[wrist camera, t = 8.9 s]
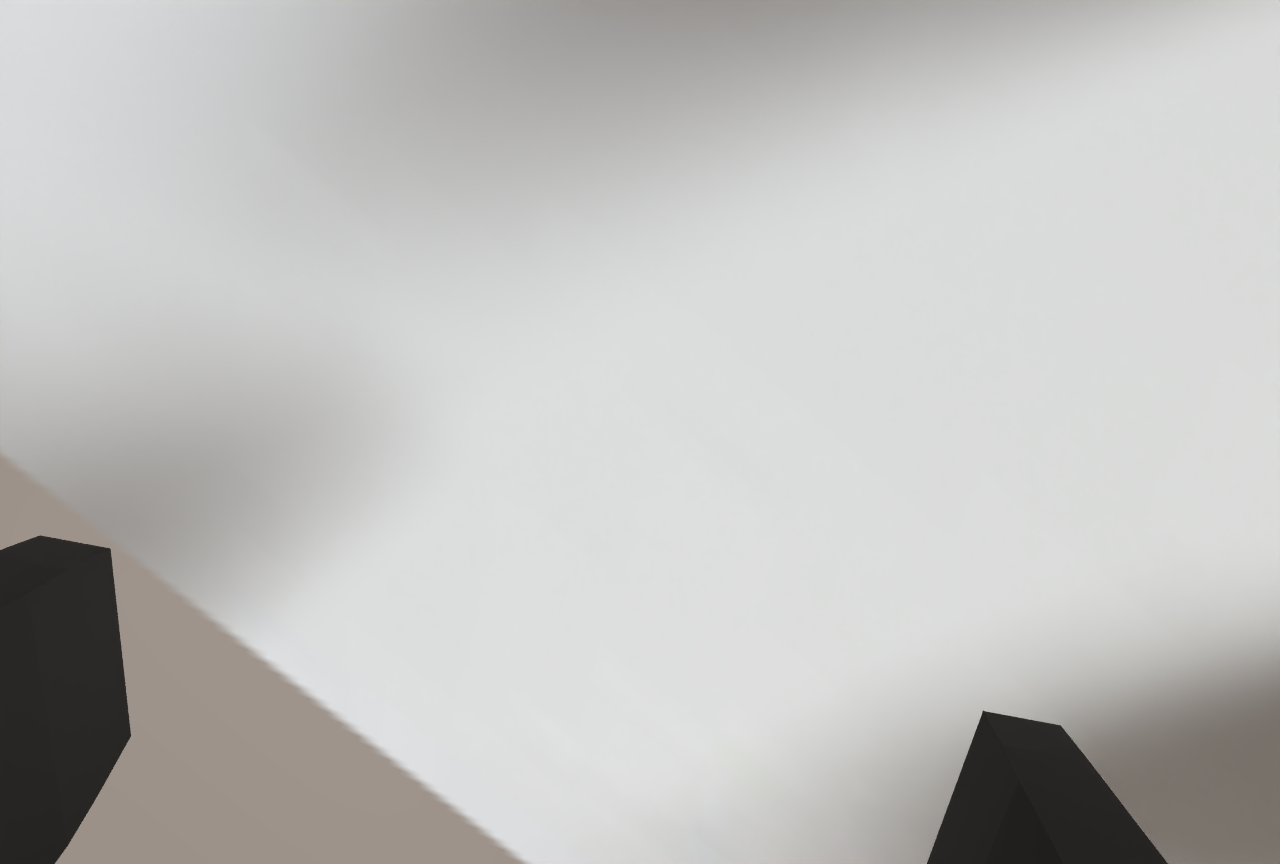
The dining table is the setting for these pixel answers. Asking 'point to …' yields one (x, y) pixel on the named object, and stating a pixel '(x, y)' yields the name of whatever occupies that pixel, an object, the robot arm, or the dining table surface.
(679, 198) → the dining table surface
